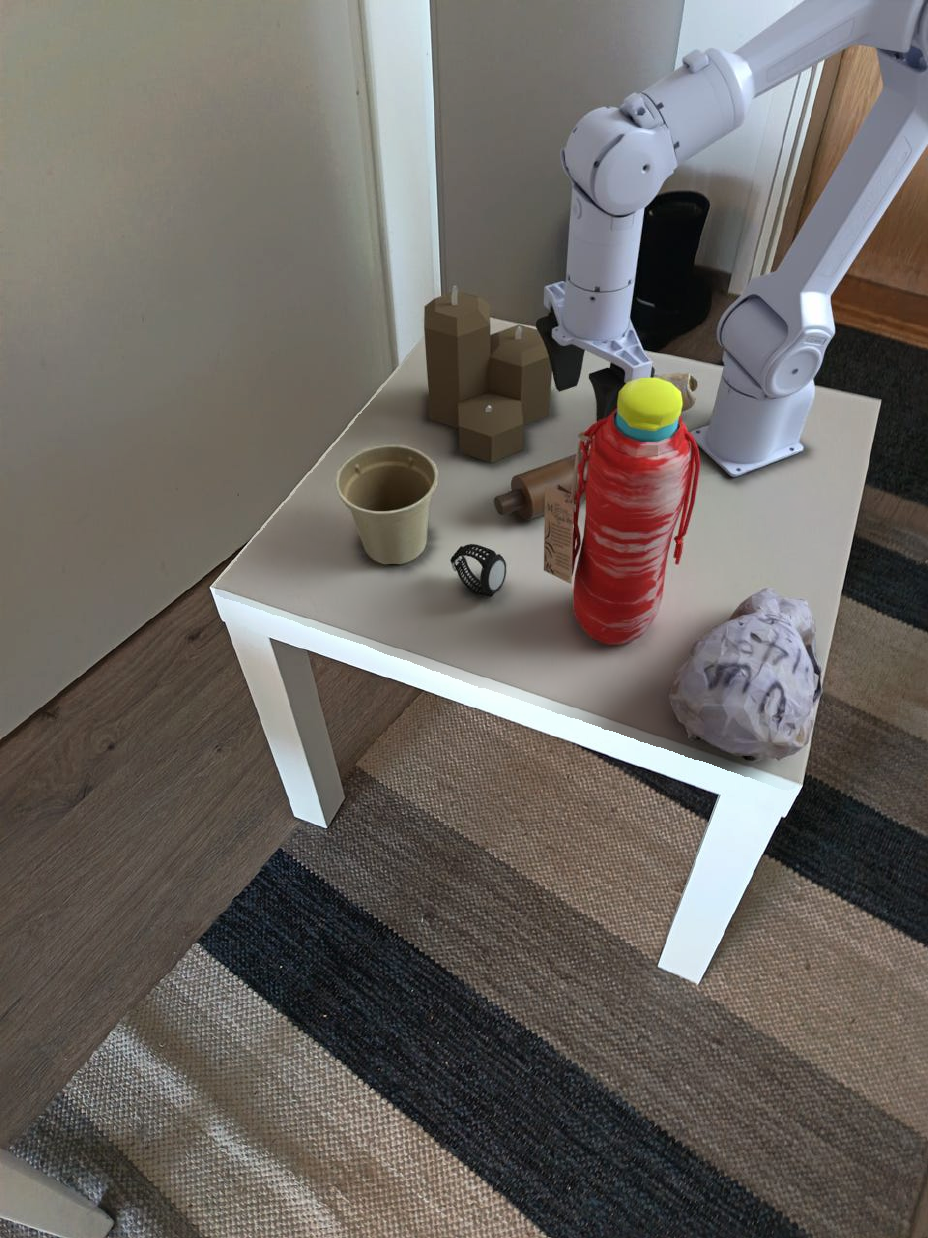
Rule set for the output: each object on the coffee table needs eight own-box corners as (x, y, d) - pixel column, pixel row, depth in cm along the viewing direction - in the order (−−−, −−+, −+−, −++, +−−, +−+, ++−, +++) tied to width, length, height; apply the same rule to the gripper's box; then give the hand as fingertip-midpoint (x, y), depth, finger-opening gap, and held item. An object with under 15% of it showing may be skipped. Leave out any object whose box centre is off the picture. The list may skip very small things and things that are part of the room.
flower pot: (330, 564, 83) (316, 498, 77) (372, 501, 89) (362, 434, 82) (419, 589, 81) (412, 523, 74) (456, 523, 86) (453, 456, 80)
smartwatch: (480, 613, 79) (479, 577, 75) (447, 580, 82) (445, 543, 78) (515, 592, 81) (516, 555, 77) (481, 560, 83) (481, 523, 79)
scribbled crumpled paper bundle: (744, 611, 80) (778, 529, 73) (863, 680, 75) (911, 599, 68) (626, 729, 70) (652, 647, 63) (754, 818, 65) (798, 739, 58)
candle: (399, 431, 96) (386, 309, 84) (458, 367, 103) (454, 246, 92) (507, 468, 92) (510, 344, 80) (561, 398, 99) (571, 276, 87)
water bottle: (520, 635, 77) (529, 407, 58) (543, 572, 82) (559, 341, 63) (653, 668, 75) (710, 440, 55) (669, 601, 79) (727, 369, 60)
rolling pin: (614, 465, 92) (617, 429, 88) (639, 488, 89) (643, 451, 85) (488, 512, 88) (486, 475, 84) (509, 537, 85) (508, 500, 81)
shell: (626, 423, 96) (620, 382, 94) (628, 415, 100) (623, 375, 98) (700, 411, 94) (695, 369, 92) (699, 402, 98) (695, 362, 96)
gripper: (516, 247, 74) (513, 380, 85) (607, 330, 66) (591, 466, 77) (585, 227, 76) (574, 360, 87) (682, 305, 68) (657, 441, 78)
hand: (587, 408), depth 82 cm, fingers open, 7 cm apart
